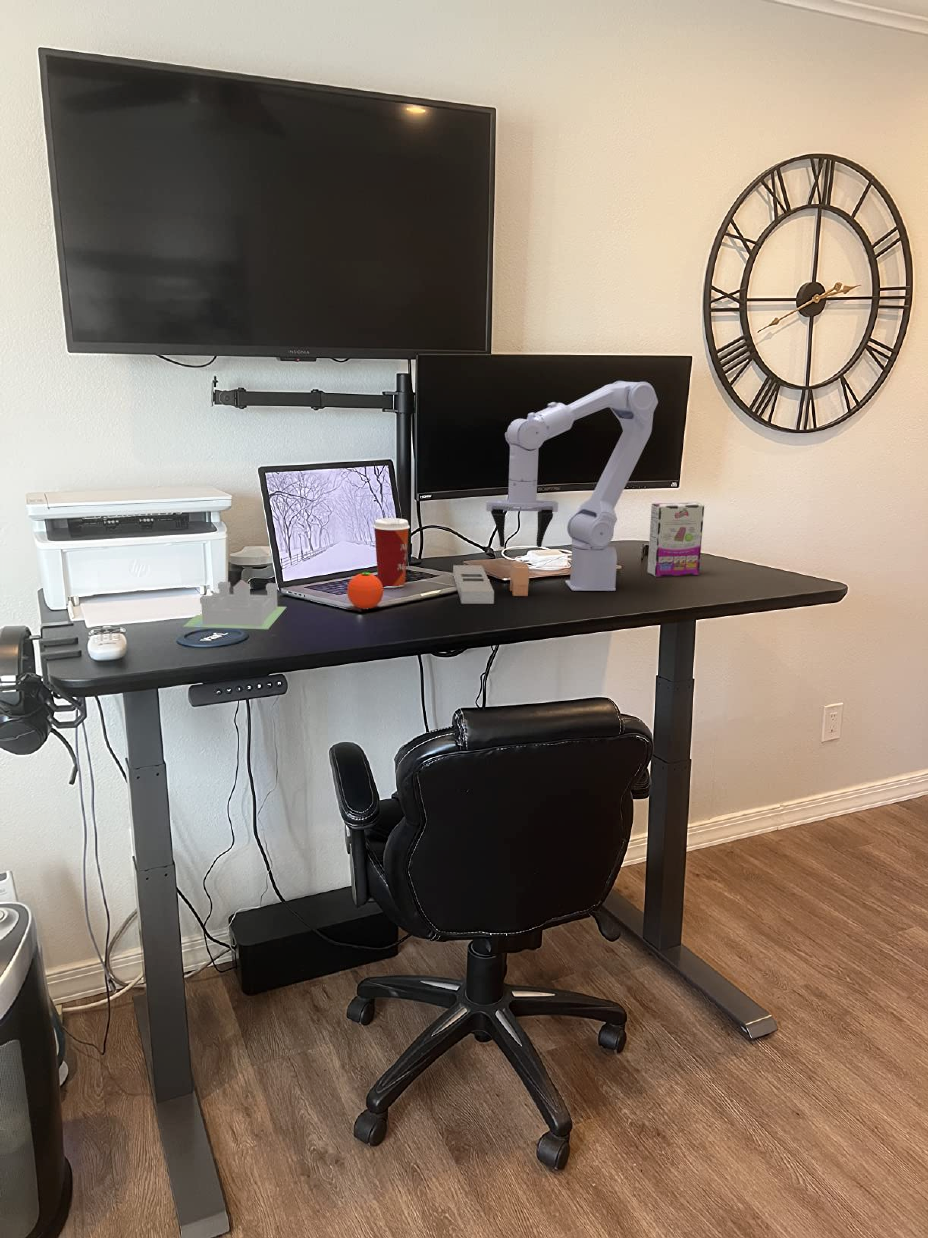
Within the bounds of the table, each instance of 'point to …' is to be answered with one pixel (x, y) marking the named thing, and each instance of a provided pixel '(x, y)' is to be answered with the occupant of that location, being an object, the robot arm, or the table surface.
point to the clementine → (365, 590)
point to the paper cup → (391, 550)
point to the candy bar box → (675, 539)
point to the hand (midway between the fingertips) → (520, 546)
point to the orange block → (519, 578)
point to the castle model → (238, 608)
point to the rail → (473, 584)
